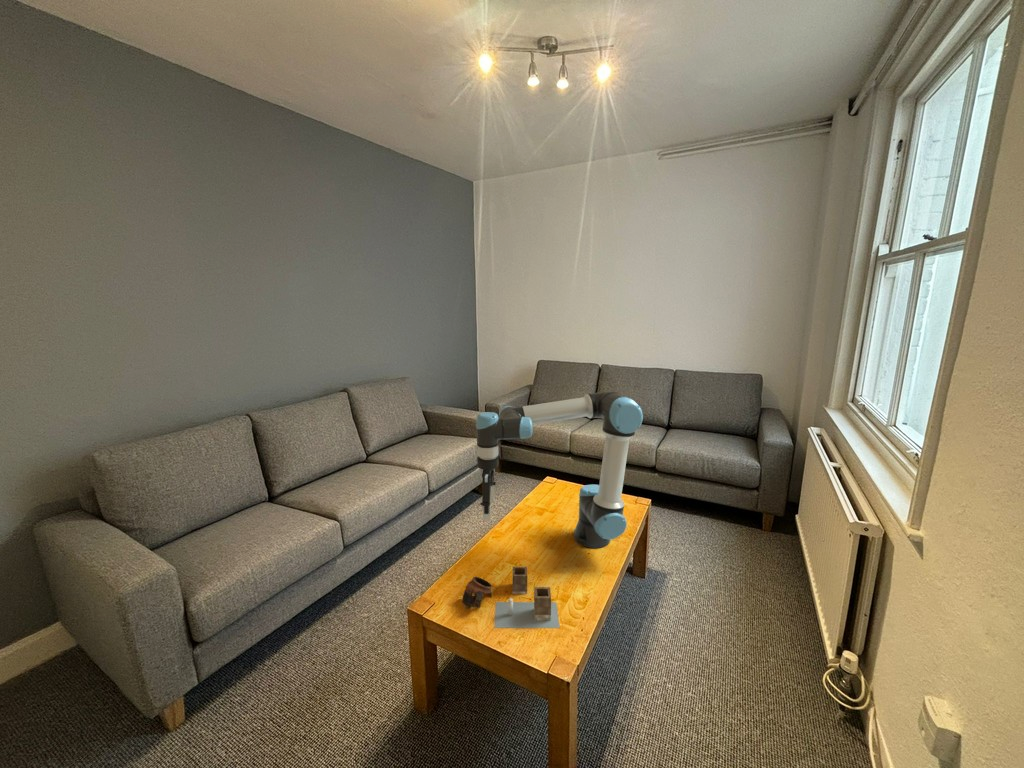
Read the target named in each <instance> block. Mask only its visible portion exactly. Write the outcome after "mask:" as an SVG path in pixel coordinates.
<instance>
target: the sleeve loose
mask: <svg viewBox="0 0 1024 768" xmlns="http://www.w3.org/2000/svg"><path fill="white" fill-rule="evenodd" d="M516 594H517V595H527V594H528V566H512V595H516Z"/></svg>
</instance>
